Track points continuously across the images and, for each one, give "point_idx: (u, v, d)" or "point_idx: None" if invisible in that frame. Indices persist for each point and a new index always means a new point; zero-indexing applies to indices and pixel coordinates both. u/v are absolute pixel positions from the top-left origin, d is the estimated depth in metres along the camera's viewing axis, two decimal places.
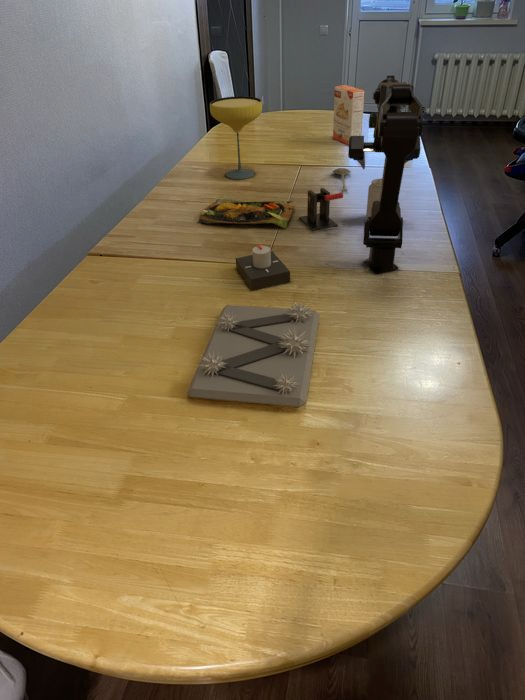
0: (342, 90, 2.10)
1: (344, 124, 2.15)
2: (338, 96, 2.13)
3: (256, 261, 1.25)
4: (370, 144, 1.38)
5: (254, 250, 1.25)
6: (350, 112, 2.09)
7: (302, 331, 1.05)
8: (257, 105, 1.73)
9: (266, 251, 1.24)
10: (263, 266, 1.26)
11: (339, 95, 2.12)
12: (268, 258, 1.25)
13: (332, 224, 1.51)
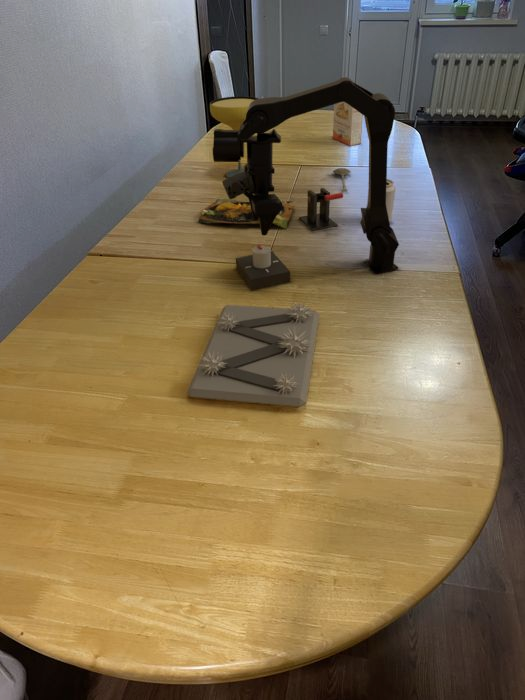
0: None
1: (344, 124, 2.15)
2: None
3: (256, 261, 1.25)
4: (263, 194, 1.17)
5: (254, 250, 1.25)
6: (350, 112, 2.09)
7: (302, 331, 1.05)
8: None
9: (266, 251, 1.24)
10: (263, 266, 1.26)
11: None
12: (268, 258, 1.25)
13: (332, 224, 1.51)
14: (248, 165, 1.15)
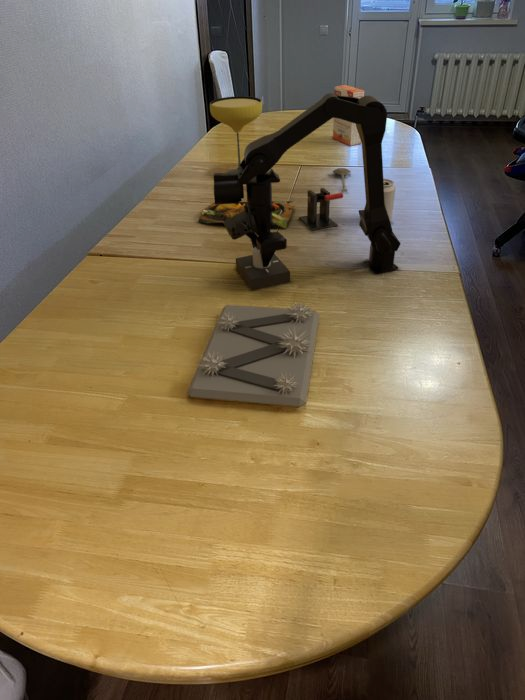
0: (342, 90, 2.10)
1: (344, 124, 2.15)
2: None
3: (256, 261, 1.25)
4: (266, 231, 1.19)
5: (254, 250, 1.25)
6: None
7: (302, 331, 1.05)
8: (257, 105, 1.73)
9: None
10: None
11: (339, 95, 2.12)
12: None
13: (332, 224, 1.51)
14: (249, 205, 1.17)
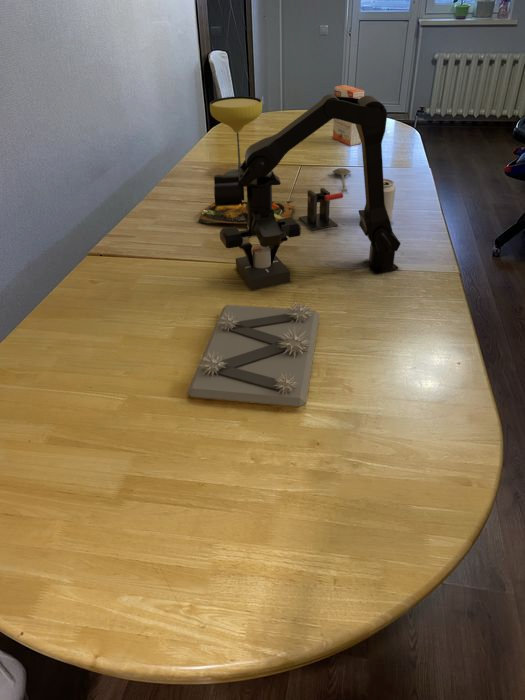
0: (342, 90, 2.10)
1: (344, 124, 2.15)
2: None
3: (269, 260, 1.26)
4: None
5: (263, 252, 1.24)
6: None
7: (302, 331, 1.05)
8: (257, 105, 1.73)
9: (266, 247, 1.26)
10: None
11: (339, 95, 2.12)
12: None
13: (332, 224, 1.51)
14: (266, 208, 1.17)
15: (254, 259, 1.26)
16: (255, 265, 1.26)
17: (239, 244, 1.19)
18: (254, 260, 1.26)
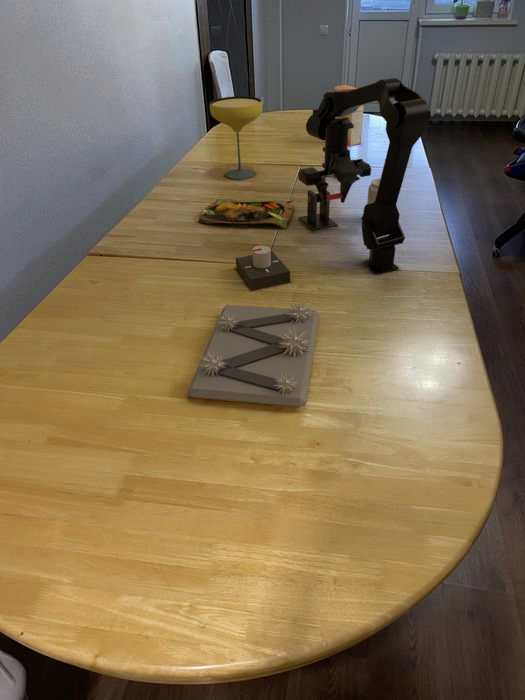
0: None
1: None
2: None
3: (269, 260, 1.26)
4: None
5: (263, 252, 1.24)
6: None
7: (302, 331, 1.05)
8: (257, 105, 1.73)
9: (266, 247, 1.26)
10: None
11: None
12: None
13: (332, 224, 1.51)
14: (343, 148, 1.30)
15: (254, 259, 1.26)
16: (255, 265, 1.26)
17: (318, 182, 1.32)
18: (254, 260, 1.26)
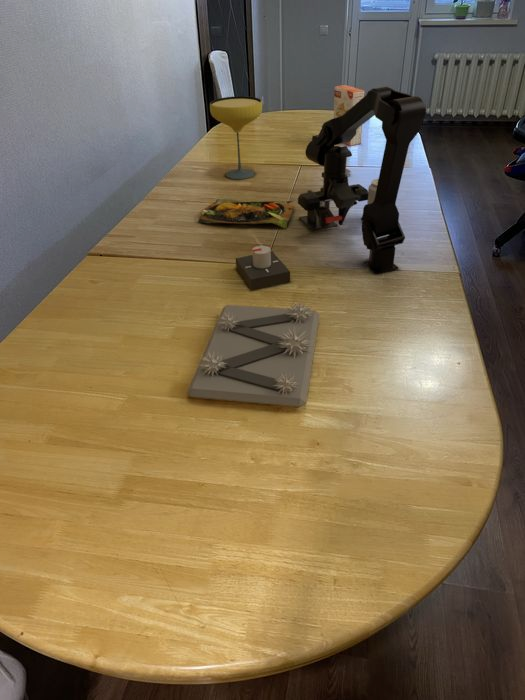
0: (342, 90, 2.10)
1: None
2: (338, 96, 2.13)
3: (269, 260, 1.26)
4: None
5: (263, 252, 1.24)
6: None
7: (302, 331, 1.05)
8: (257, 105, 1.73)
9: (266, 247, 1.26)
10: None
11: (339, 95, 2.12)
12: None
13: (332, 224, 1.51)
14: (341, 175, 1.34)
15: (254, 259, 1.26)
16: (255, 265, 1.26)
17: (316, 207, 1.36)
18: (254, 260, 1.26)
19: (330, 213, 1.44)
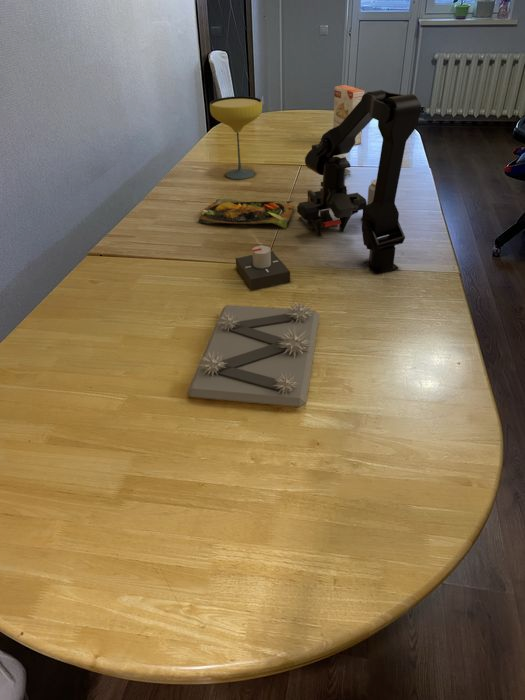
0: (342, 90, 2.10)
1: None
2: (338, 96, 2.13)
3: (269, 260, 1.26)
4: None
5: (263, 252, 1.24)
6: None
7: (302, 331, 1.05)
8: (257, 105, 1.73)
9: (266, 247, 1.26)
10: None
11: (339, 95, 2.12)
12: None
13: None
14: (340, 185, 1.36)
15: (254, 259, 1.26)
16: (255, 265, 1.26)
17: (315, 216, 1.39)
18: (254, 260, 1.26)
19: (329, 217, 1.45)
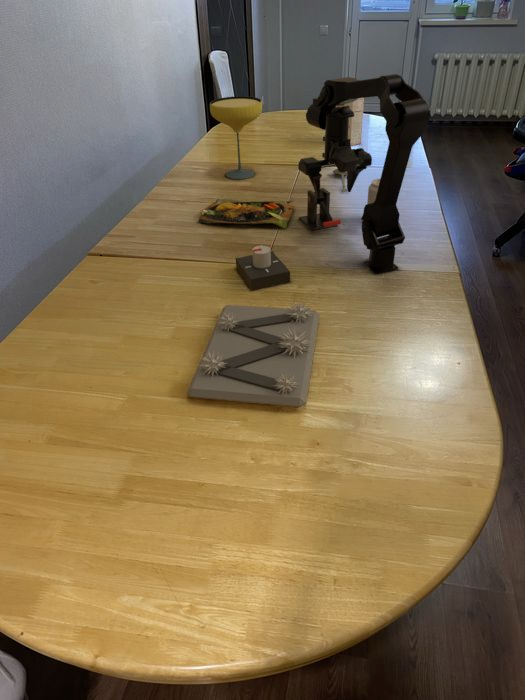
0: None
1: None
2: None
3: (269, 260, 1.26)
4: None
5: (263, 252, 1.24)
6: None
7: (302, 331, 1.05)
8: (257, 105, 1.73)
9: (266, 247, 1.26)
10: None
11: None
12: None
13: None
14: (343, 137, 1.28)
15: (254, 259, 1.26)
16: (255, 265, 1.26)
17: (318, 171, 1.31)
18: (254, 260, 1.26)
19: (329, 217, 1.45)
